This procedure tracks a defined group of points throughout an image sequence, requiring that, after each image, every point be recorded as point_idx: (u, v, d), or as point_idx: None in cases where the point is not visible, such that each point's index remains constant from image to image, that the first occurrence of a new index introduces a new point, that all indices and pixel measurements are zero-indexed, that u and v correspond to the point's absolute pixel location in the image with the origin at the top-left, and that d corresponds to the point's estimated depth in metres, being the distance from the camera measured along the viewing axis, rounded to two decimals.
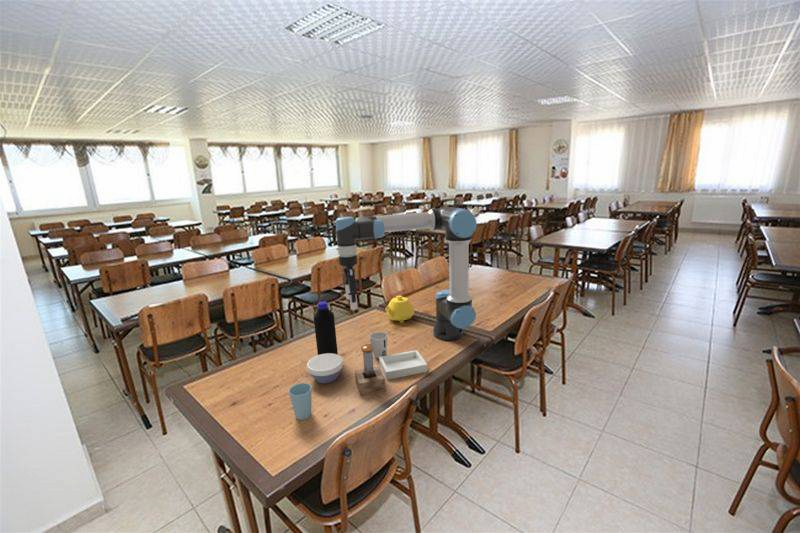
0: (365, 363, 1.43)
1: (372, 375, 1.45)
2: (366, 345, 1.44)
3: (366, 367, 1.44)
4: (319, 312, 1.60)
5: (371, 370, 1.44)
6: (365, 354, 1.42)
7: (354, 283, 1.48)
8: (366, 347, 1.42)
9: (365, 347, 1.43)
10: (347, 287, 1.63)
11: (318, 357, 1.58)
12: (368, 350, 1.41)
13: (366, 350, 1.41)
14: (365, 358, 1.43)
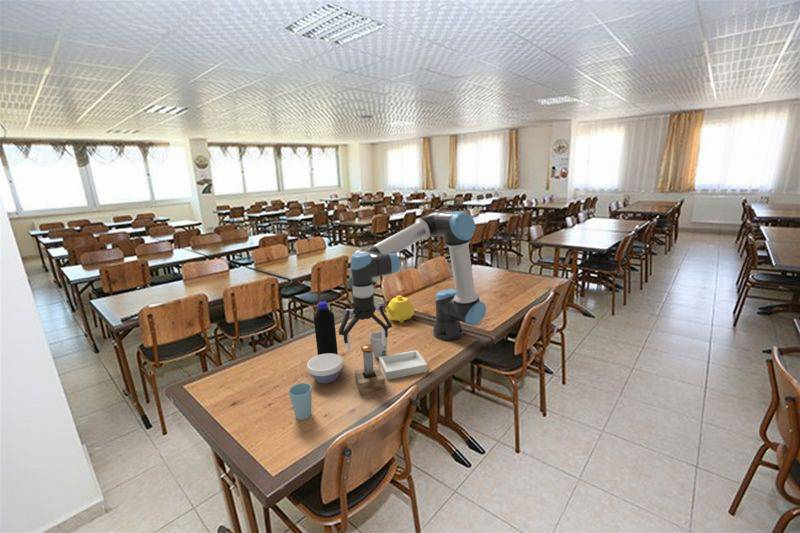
0: (365, 363, 1.43)
1: (372, 375, 1.45)
2: (366, 345, 1.44)
3: (366, 367, 1.44)
4: (319, 312, 1.60)
5: (371, 370, 1.44)
6: (365, 354, 1.42)
7: (342, 324, 1.37)
8: (366, 347, 1.43)
9: (365, 347, 1.43)
10: (382, 331, 1.44)
11: (318, 357, 1.58)
12: (368, 350, 1.41)
13: (366, 350, 1.41)
14: (365, 358, 1.43)
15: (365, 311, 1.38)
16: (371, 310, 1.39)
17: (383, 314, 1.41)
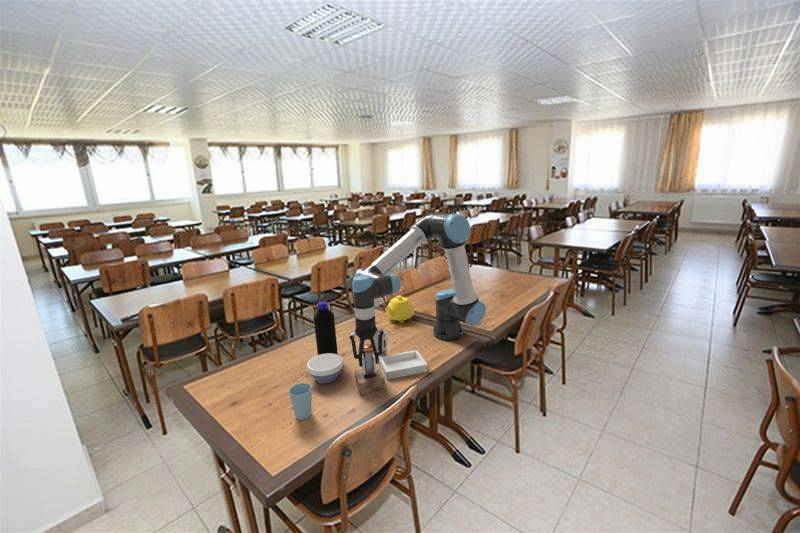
0: (365, 363, 1.43)
1: (372, 375, 1.45)
2: (366, 345, 1.44)
3: (366, 367, 1.44)
4: (319, 312, 1.60)
5: (371, 370, 1.44)
6: (365, 354, 1.42)
7: None
8: (366, 347, 1.42)
9: (365, 347, 1.43)
10: None
11: (318, 357, 1.58)
12: (368, 350, 1.41)
13: (366, 350, 1.41)
14: (365, 358, 1.43)
15: (367, 332, 1.41)
16: (372, 330, 1.41)
17: (380, 339, 1.43)
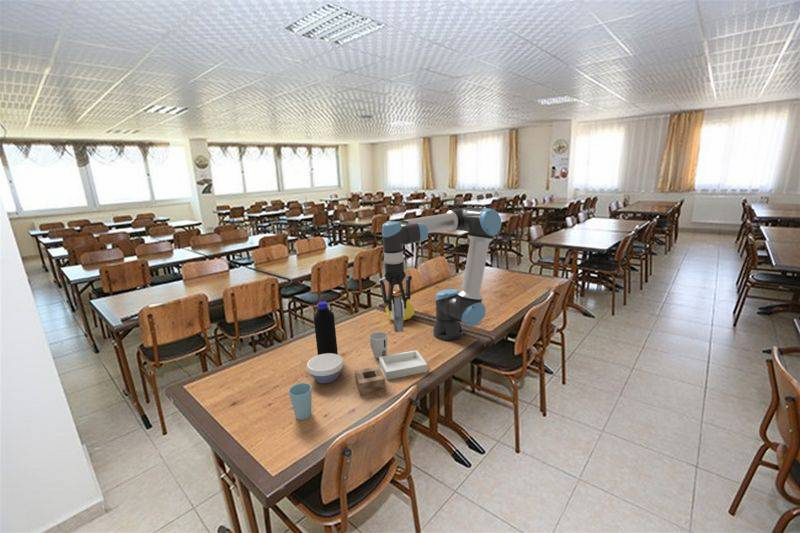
0: (394, 307, 1.50)
1: (401, 319, 1.52)
2: (395, 291, 1.51)
3: (395, 311, 1.50)
4: (319, 312, 1.60)
5: (400, 314, 1.51)
6: (394, 298, 1.49)
7: (382, 293, 1.48)
8: (395, 292, 1.49)
9: (394, 292, 1.49)
10: None
11: (318, 357, 1.58)
12: (397, 294, 1.48)
13: (395, 294, 1.48)
14: (394, 302, 1.49)
15: (396, 277, 1.47)
16: (401, 275, 1.48)
17: (409, 284, 1.49)
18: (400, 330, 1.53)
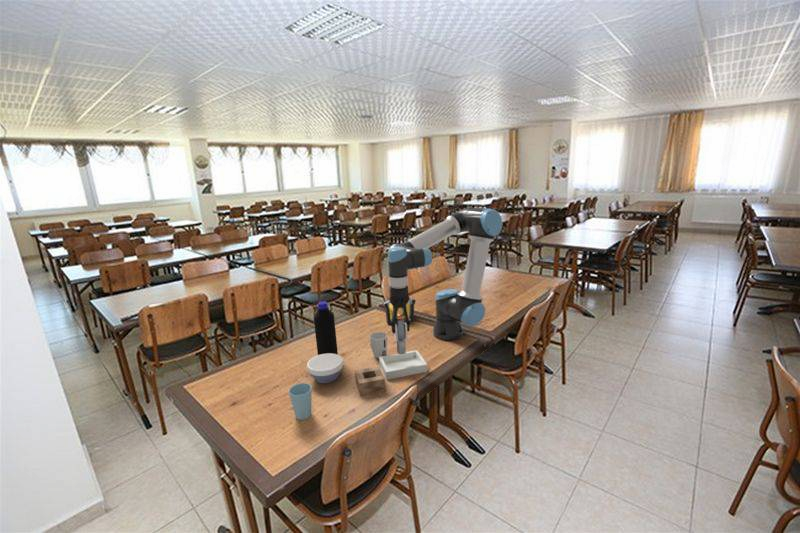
0: (398, 330, 1.54)
1: (404, 342, 1.55)
2: (398, 313, 1.55)
3: (398, 334, 1.54)
4: (319, 312, 1.60)
5: (403, 337, 1.55)
6: (398, 321, 1.53)
7: (387, 316, 1.51)
8: (399, 315, 1.53)
9: (398, 315, 1.53)
10: None
11: (318, 357, 1.58)
12: (401, 317, 1.52)
13: (399, 317, 1.51)
14: (398, 325, 1.53)
15: (400, 300, 1.51)
16: (405, 299, 1.52)
17: (412, 307, 1.53)
18: (403, 352, 1.56)
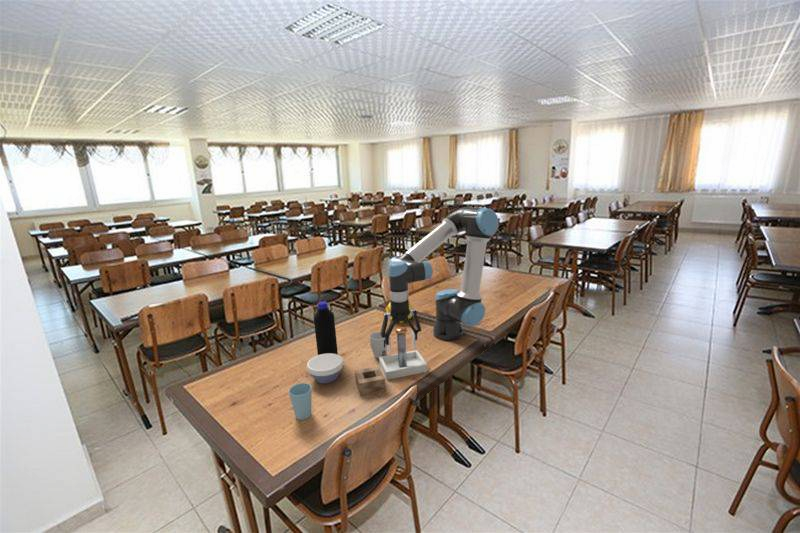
0: (399, 344, 1.56)
1: (405, 356, 1.57)
2: (399, 328, 1.56)
3: (400, 348, 1.56)
4: (319, 312, 1.60)
5: (404, 351, 1.56)
6: (399, 336, 1.54)
7: (383, 327, 1.52)
8: (400, 329, 1.55)
9: (399, 329, 1.55)
10: (412, 335, 1.58)
11: (318, 357, 1.58)
12: (402, 332, 1.53)
13: (400, 332, 1.53)
14: (399, 340, 1.55)
15: (401, 314, 1.53)
16: (406, 313, 1.53)
17: (416, 318, 1.55)
18: (404, 366, 1.58)
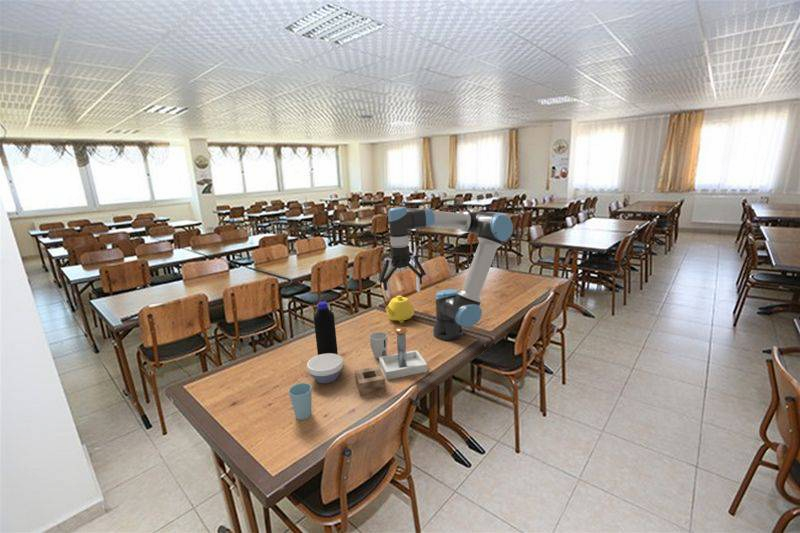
0: (399, 344, 1.56)
1: (405, 356, 1.57)
2: (399, 328, 1.56)
3: (399, 348, 1.56)
4: (319, 312, 1.60)
5: (404, 351, 1.56)
6: (399, 336, 1.54)
7: (382, 272, 1.52)
8: (400, 329, 1.55)
9: (399, 329, 1.55)
10: (416, 279, 1.59)
11: (318, 357, 1.58)
12: (402, 332, 1.53)
13: (400, 332, 1.53)
14: (399, 340, 1.55)
15: (402, 260, 1.53)
16: (407, 259, 1.54)
17: (418, 263, 1.56)
18: (404, 366, 1.58)
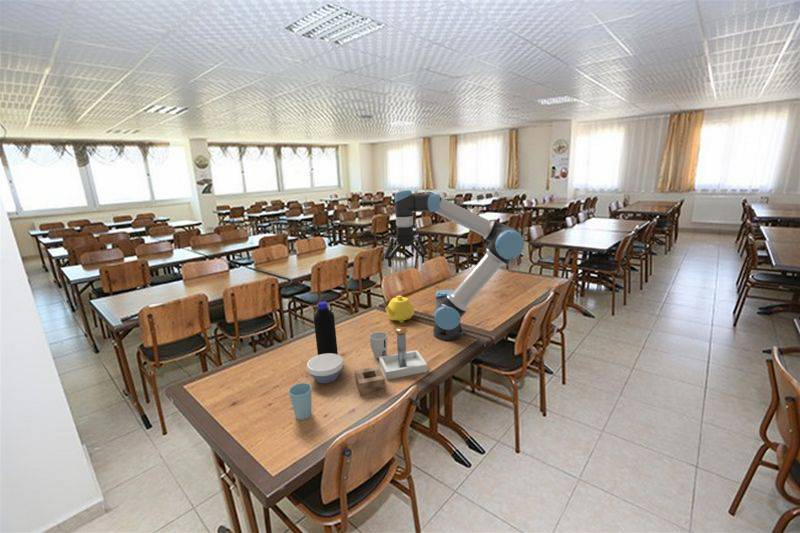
0: (399, 344, 1.56)
1: (405, 356, 1.57)
2: (399, 328, 1.56)
3: (399, 348, 1.56)
4: (319, 312, 1.60)
5: (404, 351, 1.56)
6: (399, 336, 1.54)
7: (387, 250, 1.65)
8: (400, 329, 1.55)
9: (399, 329, 1.55)
10: (419, 258, 1.71)
11: (318, 357, 1.58)
12: (402, 332, 1.53)
13: (400, 332, 1.53)
14: (399, 340, 1.55)
15: (406, 239, 1.66)
16: (411, 239, 1.66)
17: (420, 242, 1.68)
18: (404, 366, 1.58)
